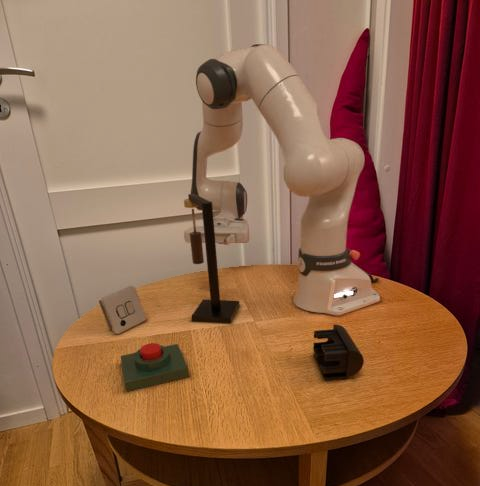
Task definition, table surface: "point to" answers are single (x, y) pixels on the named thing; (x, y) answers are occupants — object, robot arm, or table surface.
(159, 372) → the button box
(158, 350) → the button
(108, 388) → the table surface
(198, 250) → the pull handle
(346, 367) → the end cap
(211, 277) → the hanging handle stand
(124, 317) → the electrical switch
